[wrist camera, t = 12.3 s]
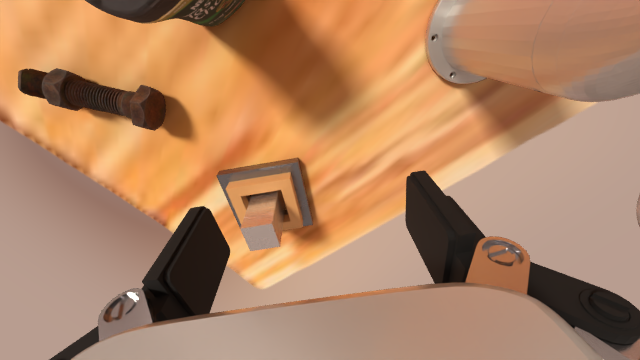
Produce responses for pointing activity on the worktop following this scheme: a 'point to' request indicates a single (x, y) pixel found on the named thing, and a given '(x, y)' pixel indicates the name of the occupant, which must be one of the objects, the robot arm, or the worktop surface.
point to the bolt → (94, 96)
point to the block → (264, 220)
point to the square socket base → (268, 189)
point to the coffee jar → (170, 10)
